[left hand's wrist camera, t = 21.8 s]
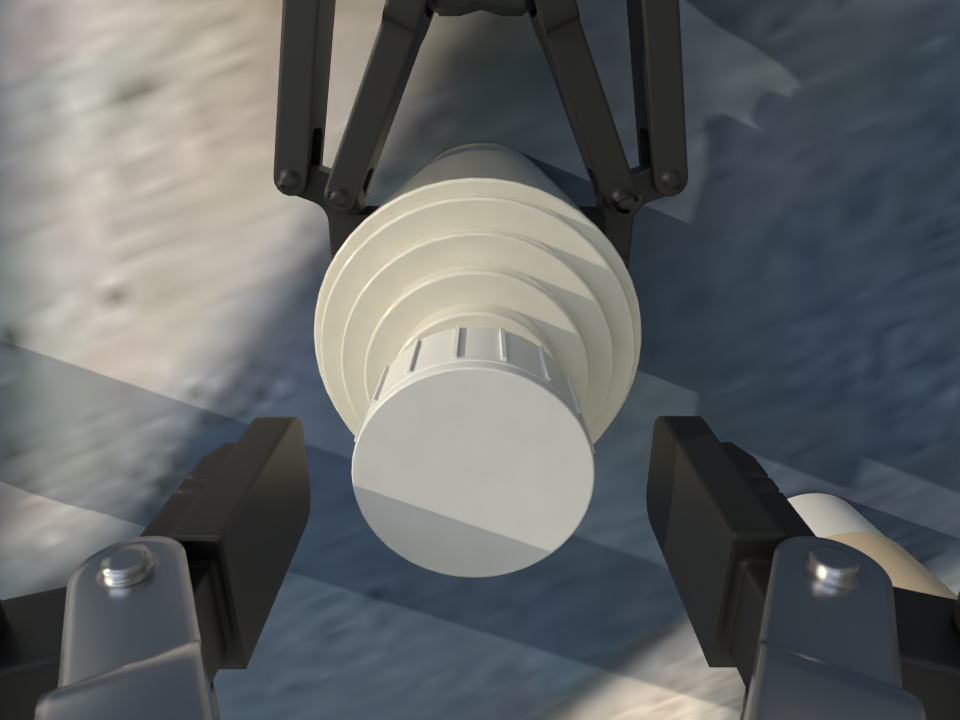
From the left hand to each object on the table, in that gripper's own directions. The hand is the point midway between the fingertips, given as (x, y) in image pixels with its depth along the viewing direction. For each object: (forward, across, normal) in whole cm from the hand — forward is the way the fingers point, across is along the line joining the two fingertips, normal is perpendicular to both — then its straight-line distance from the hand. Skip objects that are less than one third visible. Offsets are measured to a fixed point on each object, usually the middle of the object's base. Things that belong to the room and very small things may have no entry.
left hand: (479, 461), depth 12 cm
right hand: (+15, 0, -4) cm, 16 cm away
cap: (-1, 0, +1) cm, 2 cm away
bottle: (+21, 0, +1) cm, 21 cm away
